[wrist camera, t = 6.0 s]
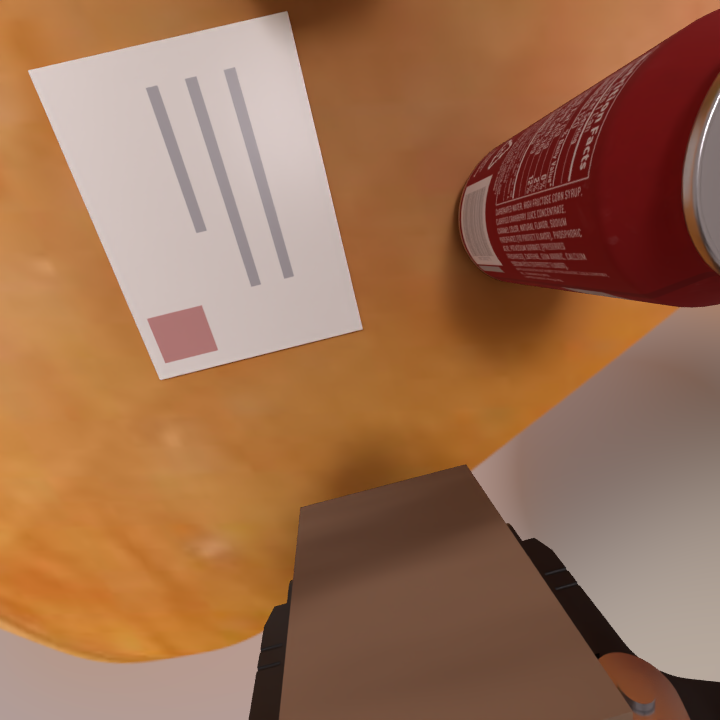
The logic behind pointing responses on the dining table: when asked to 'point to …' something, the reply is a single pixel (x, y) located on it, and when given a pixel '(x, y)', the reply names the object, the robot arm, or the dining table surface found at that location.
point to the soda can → (612, 184)
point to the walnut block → (430, 615)
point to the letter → (207, 191)
